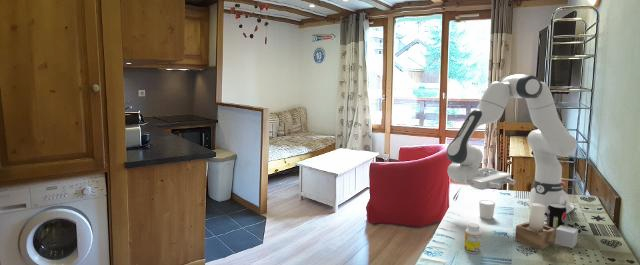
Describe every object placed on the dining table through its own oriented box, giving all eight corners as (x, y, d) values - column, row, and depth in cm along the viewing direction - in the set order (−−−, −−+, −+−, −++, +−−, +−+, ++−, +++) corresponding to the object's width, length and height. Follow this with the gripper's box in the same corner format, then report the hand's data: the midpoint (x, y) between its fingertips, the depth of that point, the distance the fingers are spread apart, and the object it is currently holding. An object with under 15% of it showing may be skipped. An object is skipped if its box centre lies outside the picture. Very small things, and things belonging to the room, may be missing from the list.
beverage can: (558, 237, 157) (560, 208, 156) (542, 231, 163) (544, 204, 162) (567, 234, 160) (570, 206, 159) (552, 228, 166) (554, 201, 165)
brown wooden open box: (530, 234, 160) (531, 220, 159) (554, 243, 151) (556, 229, 150) (515, 240, 155) (516, 225, 154) (539, 249, 146) (541, 234, 145)
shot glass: (495, 219, 177) (496, 205, 176) (479, 218, 178) (480, 204, 177) (492, 214, 184) (493, 200, 183) (477, 213, 185) (477, 199, 184)
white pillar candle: (533, 226, 156) (535, 202, 154) (545, 230, 151) (547, 206, 150) (525, 228, 153) (527, 204, 152) (538, 233, 149) (540, 208, 148)
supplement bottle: (467, 246, 149) (468, 221, 148) (482, 250, 145) (483, 224, 144) (462, 251, 145) (463, 225, 143) (477, 255, 141) (478, 228, 140)
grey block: (559, 239, 156) (560, 225, 155) (576, 243, 151) (578, 229, 151) (554, 243, 152) (556, 229, 151) (572, 248, 147) (574, 233, 146)
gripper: (463, 174, 169) (491, 181, 157) (493, 167, 179) (522, 173, 168) (463, 188, 170) (491, 196, 158) (493, 180, 180) (521, 187, 168)
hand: (507, 184), depth 163 cm, fingers open, 8 cm apart
